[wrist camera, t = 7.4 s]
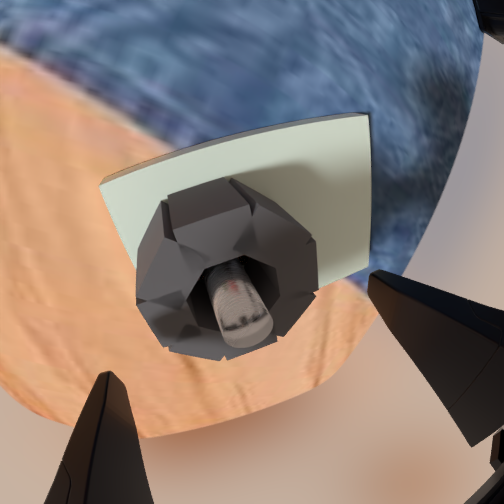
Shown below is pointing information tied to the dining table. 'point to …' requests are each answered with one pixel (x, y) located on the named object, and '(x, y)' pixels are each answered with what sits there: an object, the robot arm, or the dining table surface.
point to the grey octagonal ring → (215, 252)
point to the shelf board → (268, 184)
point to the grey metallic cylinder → (237, 304)
